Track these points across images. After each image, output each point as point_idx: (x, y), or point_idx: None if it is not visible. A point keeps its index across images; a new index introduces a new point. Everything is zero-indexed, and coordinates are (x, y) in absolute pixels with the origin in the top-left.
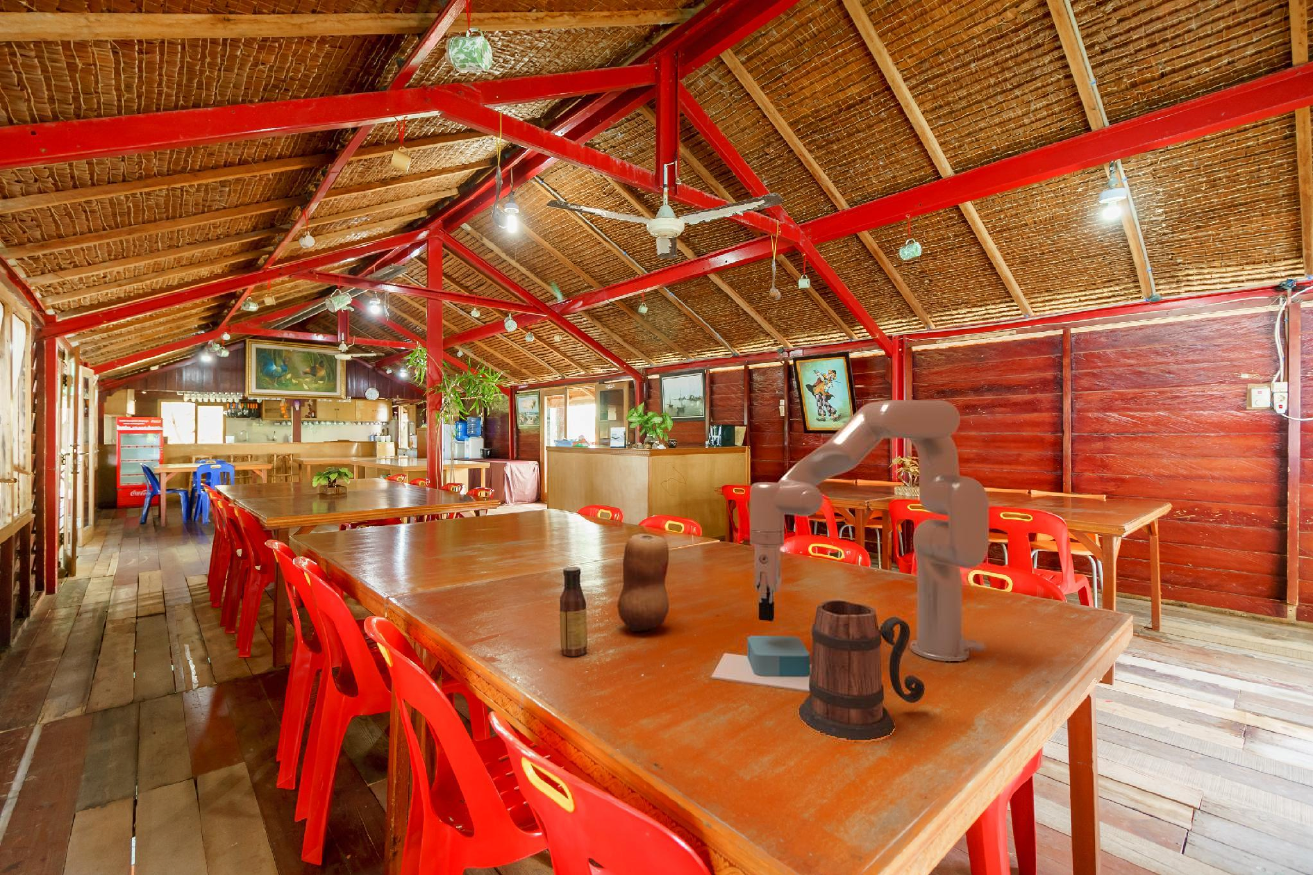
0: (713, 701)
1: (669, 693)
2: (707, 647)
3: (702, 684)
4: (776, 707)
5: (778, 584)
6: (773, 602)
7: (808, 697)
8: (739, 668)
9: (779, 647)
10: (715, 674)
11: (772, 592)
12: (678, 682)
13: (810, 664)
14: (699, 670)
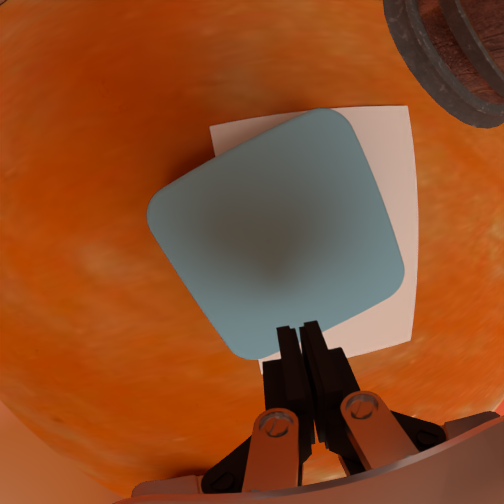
0: (488, 287)
1: (468, 356)
2: (234, 409)
3: (435, 336)
4: (486, 172)
5: (448, 496)
6: (304, 396)
7: (482, 106)
8: None
9: (313, 234)
10: (399, 338)
11: (296, 465)
12: (432, 369)
13: (216, 133)
14: (374, 372)
